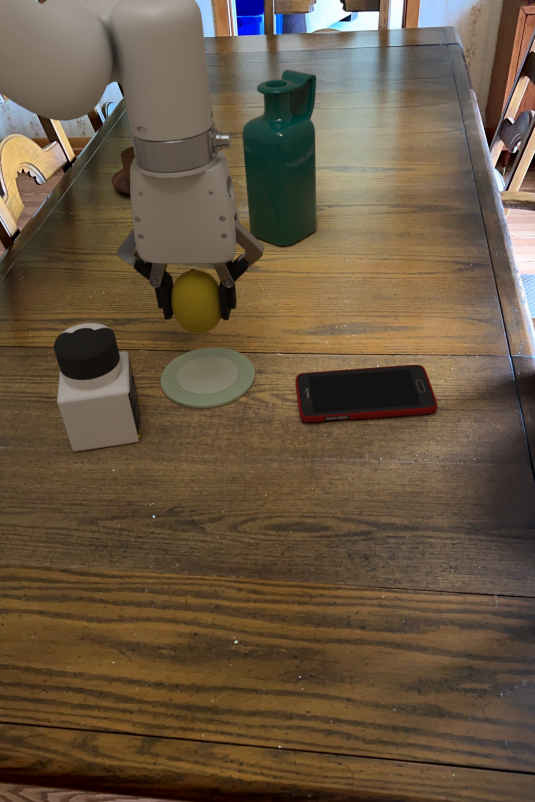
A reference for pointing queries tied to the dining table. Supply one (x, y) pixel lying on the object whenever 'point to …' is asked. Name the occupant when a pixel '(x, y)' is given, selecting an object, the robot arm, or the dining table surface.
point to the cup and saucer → (124, 171)
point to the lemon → (196, 301)
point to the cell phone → (364, 393)
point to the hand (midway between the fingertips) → (198, 311)
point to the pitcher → (282, 161)
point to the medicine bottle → (96, 388)
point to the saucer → (207, 377)
